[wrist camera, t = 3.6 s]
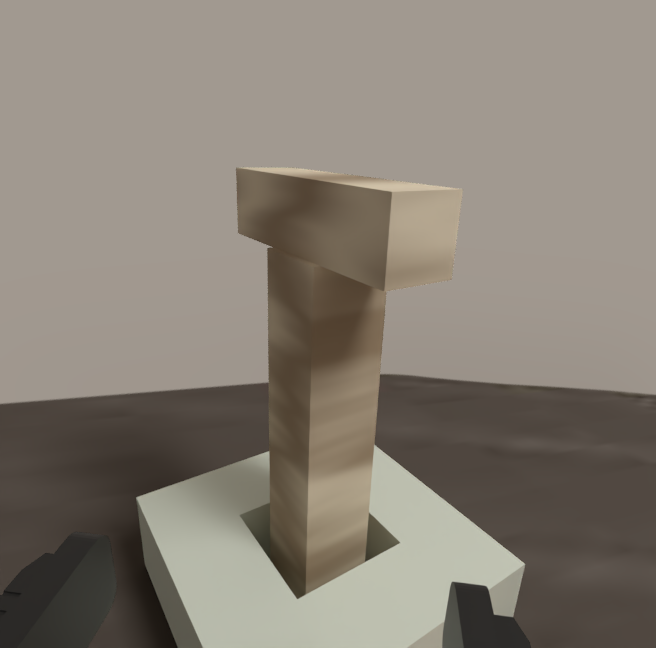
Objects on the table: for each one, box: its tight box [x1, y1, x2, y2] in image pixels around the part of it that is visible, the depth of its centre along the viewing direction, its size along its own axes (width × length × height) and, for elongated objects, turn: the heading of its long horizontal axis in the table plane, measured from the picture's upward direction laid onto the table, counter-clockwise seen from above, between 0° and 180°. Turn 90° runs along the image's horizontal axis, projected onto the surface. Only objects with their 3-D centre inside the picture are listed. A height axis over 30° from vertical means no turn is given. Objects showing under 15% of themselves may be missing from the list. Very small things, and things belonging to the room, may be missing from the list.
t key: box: [236, 168, 463, 599], centre depth 19 cm, size 9×3×18 cm, turn 34°
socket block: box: [136, 445, 525, 648], centre depth 22 cm, size 12×12×4 cm
